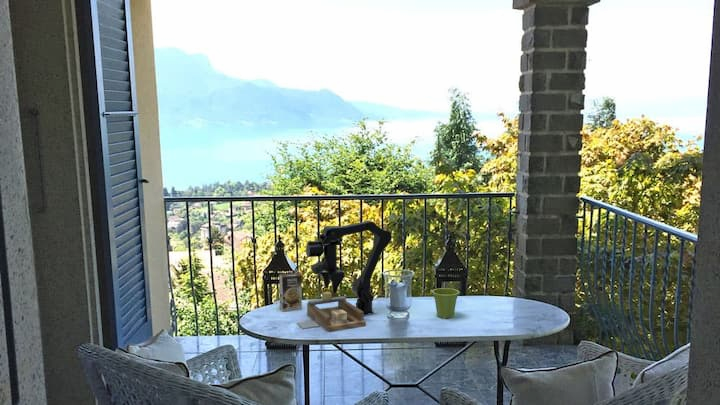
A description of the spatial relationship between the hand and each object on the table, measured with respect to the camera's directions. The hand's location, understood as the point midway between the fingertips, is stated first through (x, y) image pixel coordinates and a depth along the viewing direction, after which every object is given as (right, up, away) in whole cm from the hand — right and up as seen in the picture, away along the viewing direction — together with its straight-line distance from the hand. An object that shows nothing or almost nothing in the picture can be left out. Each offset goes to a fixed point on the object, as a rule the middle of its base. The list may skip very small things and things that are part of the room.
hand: (330, 290), depth 259 cm
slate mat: (-9, -13, -10) cm, 19 cm away
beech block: (+4, -13, -7) cm, 15 cm away
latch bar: (-2, -6, +4) cm, 7 cm away
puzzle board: (+2, -13, -3) cm, 13 cm away
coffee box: (-19, -11, +13) cm, 25 cm away
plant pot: (+51, -12, +2) cm, 52 cm away
